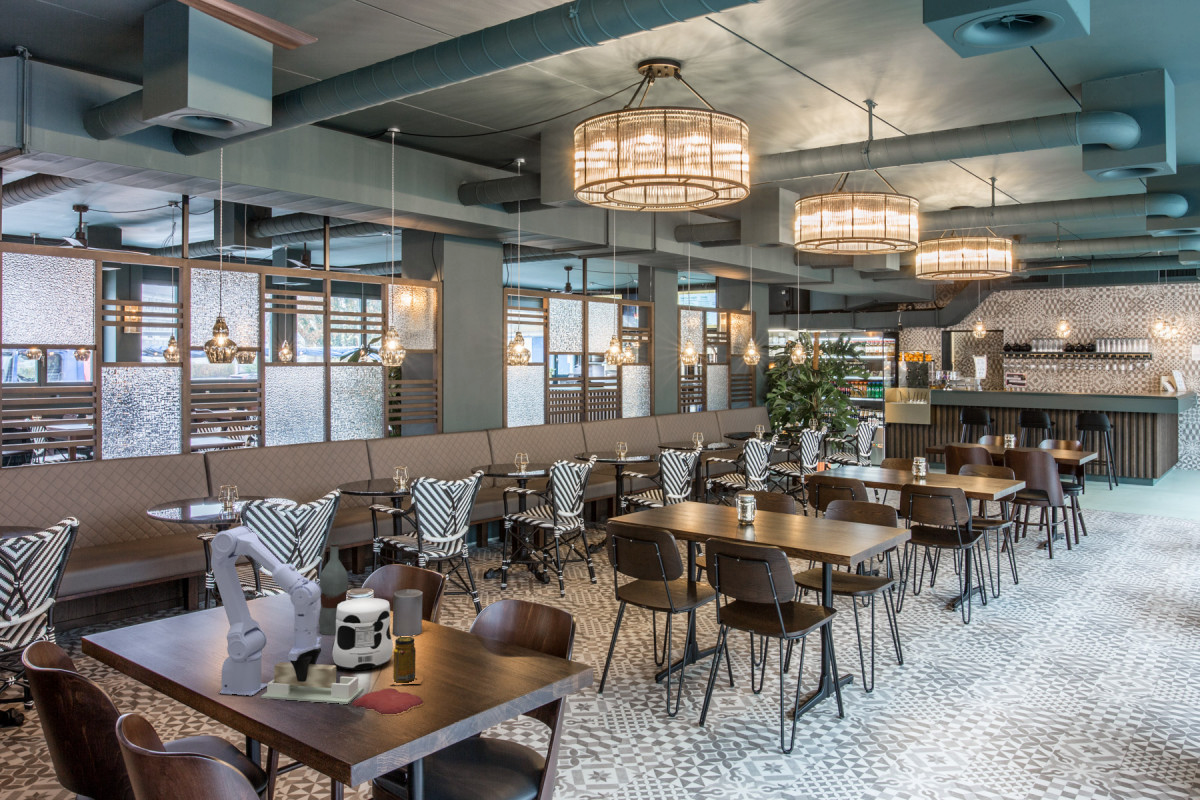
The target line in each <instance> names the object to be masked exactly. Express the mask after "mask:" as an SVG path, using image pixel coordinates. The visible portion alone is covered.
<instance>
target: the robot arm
mask: <svg viewBox="0 0 1200 800" xmlns="http://www.w3.org/2000/svg"><path fill="white" fill-rule="evenodd" d="M209 544H210V548H211V551H212V552H211V560H210V566H211V569H212V572H213V577H214V579H215V582H216V585H217V588H218V591H219V595H220V598H221V600H222V604H223V606H224V607H223V608H224V611H225V614H226V617H227V620H228V623H229V626H230V627H229V630H228V632H227V634H226V639H227V647H226V651H227V653H228V654H227V655H228V657H227V658H225V660H224V661H223V664H222V667H221V688H220V689H221V690H220V691H219V694H220V693H221V695H232V694H237V695H236V696H246V695H249V697H251V696H252V695H253V696H255V695H256V694H257V693H259V692H260V691H262V690H263V689H264V688H267V683H263V682H262V654H263V649H264V648H265V647H266V645H267V642H268V639H267V638H268V637H267V635H266V633H265V632H264V630H263V629H262V628H261V626H260V623H259V622H258V621H256V620H255V619H253V618H252V616H251V612H250V609H249V606H248V602H247V599H246V597H245V594H244V591H243V587H242V584H241V581H240V577H239V574H238V572H237V571H238V570H237V569H236V565H235V564H236V562H237V560H238V559H239V557H240V556H249V557H250V558H252V559H253V560H255V562H257V563H259V565H262V567H263V568H265V570H267V571H269V572H270V573H271V575H272V576H271V577H272V578H271V579H272V581H273V582H274V583H275V584H276V585H278V586H279V588H281V589H282V590H283V591H284V592H285V593H287V594H288V596H290V597H289V598H290V601H291V604H292V605H293V607H294V625H293V626H294V627H293V628H294V630H293V631H294V632H293V633H294V636H293V639H294V640H293V645H292V647H291V650H290V652H289V651H288V654H287V655H288V658H287V659H288V660H287V661H290V663H292V665H293V667H294V669H295V673H296V677H297V680H298V681H300V682H305V681H306V679H307V673H308V666H309V664H317V661H318V658H319V656H320V654H321V653H322V648H321V647H322V645H321V644H322V636H318V600H319V599H321V598H320V596H321V588H320V586H319V583H318V582H317V581H315V580H309V578H308V577H304V575H303V574H301V573H300V572H299V571H298V570H296V566H295V565H294V564H290V563H282V562H281V561H280V560H279V559H278V558H277V557H276V556H275V555H274V554H273V553H272V552H271V551H270V550H269V549H268V548H267V547H266V546H265V545H264V544H263V542H261V541H260V539H259V537H258V535H257V533H255V532H253V531H252V530H251V529H250V528H249V527H248V526H246V525H239V526H236V527H233V528H231V529H227V530H221V531H219V532H217V533H216V534H215V535H214V537H213V539H212V540H211V542H210V543H209ZM261 689H262V690H261Z"/></svg>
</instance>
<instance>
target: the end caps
mask: <svg viewBox="0 0 1200 800" xmlns="http://www.w3.org/2000/svg"><path fill="white" fill-rule="evenodd" d="M266 684H267V686H266V692H267V693H274V694H290V687H296V688H298V687H299V686H290V684H282V683H274V678H273V679H272V680H271V681H269V682H267V683H266ZM358 687H359V677H356V676H355V677H354V676H340V677H339V682H338V683H337V682H336V683H332V690H331V697H334V698H348V699H349V698H350V697H351V696H352V695H353V694H355V693H356V692H357V691H358Z"/></svg>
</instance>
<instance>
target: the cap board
mask: <svg viewBox="0 0 1200 800" xmlns="http://www.w3.org/2000/svg"><path fill="white" fill-rule="evenodd" d="M364 689H365V688H364V687H359V686H358V691H357V692H356V693H355V694H353V695H352V696H351V697H350V698H349V699H348V698H334V697H331V690H332V688H321V687H305V686H299V687H298V688H296V687H290V694H274V693H267V691H266V692H265V693H263V694H262V695H261V696H260V699H261V698H274V699H287V700H298V701H297V702H299V701H311V702H310V703H314V702H327V703H326V704H329V703H339V704H338V705H343V704H348V703H349V704H350V703H352V702H353V701H354V700H355V699H356V698H357V697H358V696H359V695H361V694H362V693H363V692H364V691H363V690H364ZM362 691H363V692H362ZM361 692H362V693H361ZM360 693H361V694H360ZM358 694H359V695H358ZM357 695H358V696H357ZM356 696H357V697H356ZM355 697H356V698H355ZM354 698H355V699H354ZM353 699H354V700H353ZM352 700H353V701H352ZM351 701H352V702H351ZM349 704H348V705H349Z"/></svg>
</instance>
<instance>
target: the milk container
mask: <svg viewBox="0 0 1200 800" xmlns="http://www.w3.org/2000/svg"><path fill="white" fill-rule="evenodd" d="M390 615H391V605H390V601H388V600H386V599H382V598H378V597H377V598H375V597H362V598H359V597H358V598H353V599H346V601H344V602H341V603H339V604H338V606H337V612H336V635H334V640H333V643H332V644H333V645H332V648H331V651H332V659H333V662H334V664H335V666H338V667H339V668H342V669H345V670H353V671H358V670H361V671H363V670H370V669H375V668H377V667H382V666H383V665H385V664H386V663H388V662H389V661H390V660H391V657H392V655H393V650H394V649H393V648H394V647H393V639H392V635H391V630H390V629H391V627H390V626H391V616H390Z"/></svg>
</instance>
